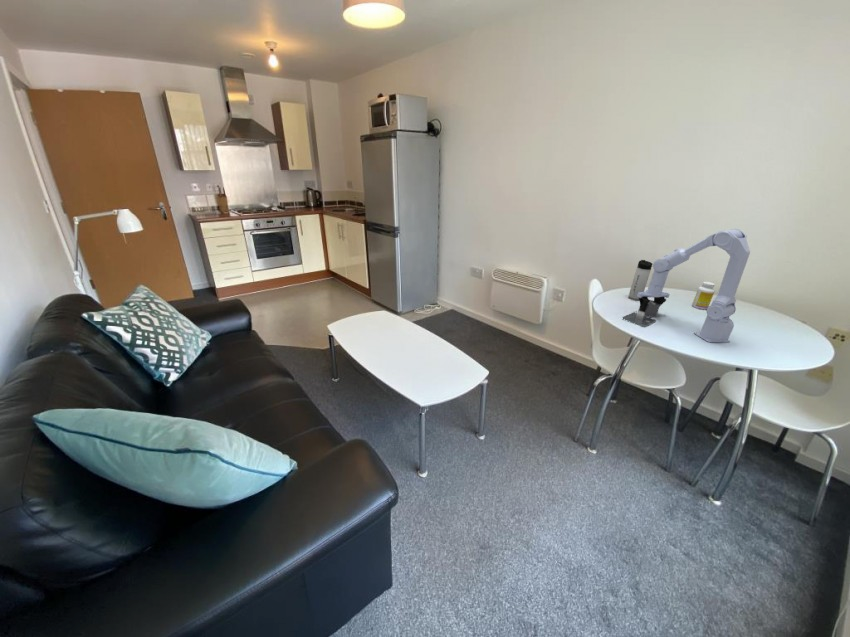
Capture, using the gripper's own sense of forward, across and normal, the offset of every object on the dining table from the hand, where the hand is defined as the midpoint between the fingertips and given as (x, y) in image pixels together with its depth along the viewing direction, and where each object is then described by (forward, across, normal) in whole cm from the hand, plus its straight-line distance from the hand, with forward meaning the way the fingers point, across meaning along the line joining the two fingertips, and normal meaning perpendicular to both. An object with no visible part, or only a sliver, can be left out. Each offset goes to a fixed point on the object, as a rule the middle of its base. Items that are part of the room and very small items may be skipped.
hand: (647, 311), depth 167 cm
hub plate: (+1, +9, +7) cm, 11 cm away
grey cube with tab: (+1, 0, 0) cm, 1 cm away
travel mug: (+2, -7, -20) cm, 21 cm away
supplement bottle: (+2, -34, -8) cm, 35 cm away
